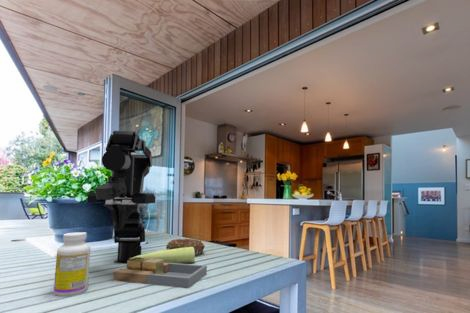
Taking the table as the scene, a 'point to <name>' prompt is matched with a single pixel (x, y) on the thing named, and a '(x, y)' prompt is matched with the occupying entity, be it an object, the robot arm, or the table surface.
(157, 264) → the brass block
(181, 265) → the tray
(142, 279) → the slot board
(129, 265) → the brass block
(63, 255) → the supplement bottle
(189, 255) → the tube
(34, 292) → the table surface
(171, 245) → the donut
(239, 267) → the table surface
